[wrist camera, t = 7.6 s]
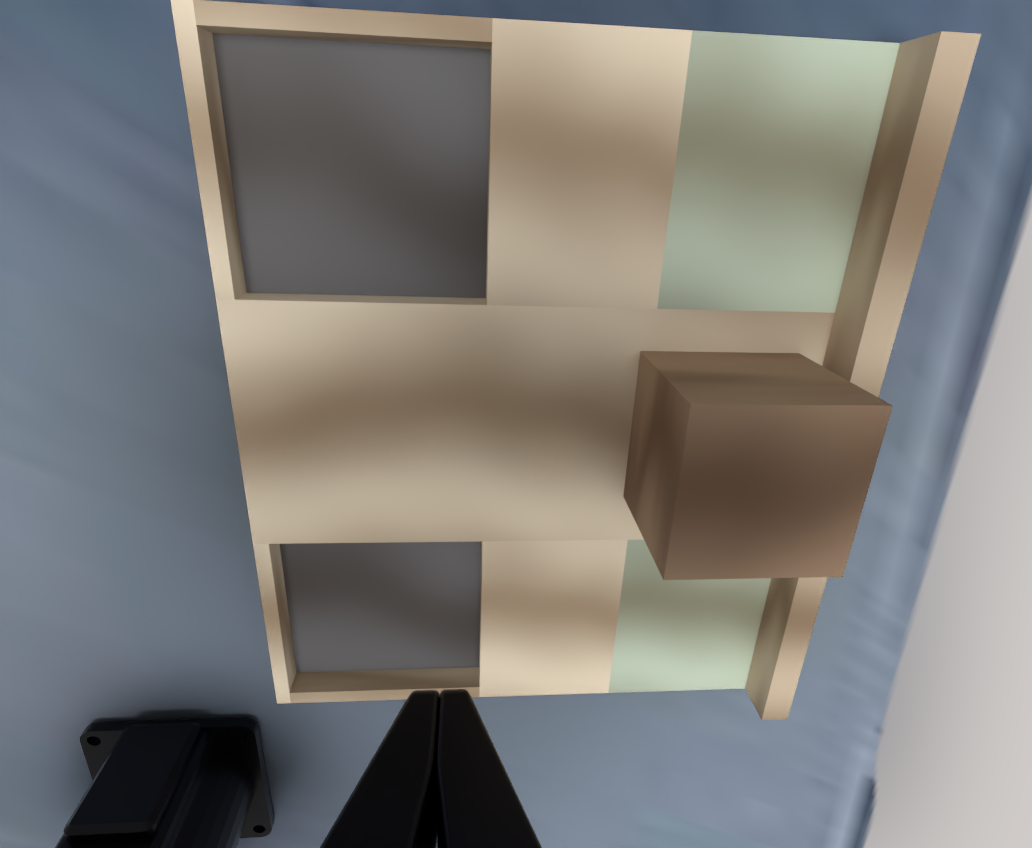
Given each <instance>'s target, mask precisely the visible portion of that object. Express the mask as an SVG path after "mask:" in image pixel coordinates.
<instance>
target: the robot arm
mask: <svg viewBox="0 0 1032 848" xmlns="http://www.w3.org/2000/svg"><path fill="white" fill-rule="evenodd" d="M80 742H81V745H82V749H83V752H84V755H85V758H86V761H87V764H88V767H89V770H90V773H91V776H92V779H93V781H92V783H91V785H90V786H89V788H88V790H87V791H86V793H85V795H84V796H83V798H82V800H81V801H80V803H79V804H78V806H77V808H76V809H75V811H74V813H73V814H72V816H71V818H70V819H69V821H68V823H67V824H66V826H65V828H64V834H63V835H62V837H61V839H60V840H59V842H58V844H57V845H56V847H55V848H237V845H238V842H239V839H240V838H249V837H263V836H266V835H268V834H269V833H270V832H271V830H272V826H273V823H274V816H273V810H272V804H271V798H270V792H269V787H268V781H267V775H266V769H265V763H264V757H263V751H262V745H261V740H260V734H259V728H258V725H257V723H256V722H255V721H254V720H252V719H249V718H220V719H191V720H162V721H133V722H104V723H93V724H90V725H89V726H88V727H87V728H86V730H85V731H84V732H83V734H82V736H81V737H80ZM320 848H542V847H541V845H540V843H539V841H538V838H537V836H536V834H535V832H534V830H533V828H532V826H531V824H530V821H529V819H528V817H527V815H526V813H525V811H524V809H523V806H522V804H521V802H520V800H519V798H518V796H517V794H516V792H515V789H514V787H513V785H512V783H511V781H510V779H509V777H508V774H507V772H506V770H505V768H504V766H503V764H502V762H501V760H500V757H499V755H498V753H497V751H496V749H495V747H494V745H493V742H492V740H491V738H490V736H489V734H488V732H487V730H486V728H485V725H484V723H483V721H482V719H481V717H480V715H479V713H478V710H477V708H476V706H475V704H474V702H473V700H472V698H471V696H470V694H469V692H468V691H467V690H466V689H445V690H443V691H441V693H440V694H439V692H438V691H437V690H416V691H413V692H412V693H411V694H410V695H409V697H408V698H407V700H406V702H405V704H404V705H403V707H402V709H401V710H400V712H399V714H398V715H397V717H396V719H395V721H394V722H393V724H392V726H391V727H390V729H389V731H388V733H387V734H386V736H385V738H384V739H383V741H382V743H381V744H380V746H379V748H378V750H377V751H376V753H375V755H374V756H373V758H372V760H371V762H370V763H369V765H368V767H367V768H366V770H365V772H364V773H363V775H362V777H361V779H360V780H359V782H358V784H357V785H356V787H355V789H354V791H353V792H352V794H351V796H350V797H349V799H348V801H347V802H346V804H345V806H344V808H343V809H342V811H341V813H340V814H339V816H338V818H337V820H336V821H335V823H334V825H333V826H332V828H331V830H330V832H329V833H328V835H327V837H326V838H325V840H324V842H323V843H322V845H321V847H320Z"/></svg>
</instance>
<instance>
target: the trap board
mask: <svg viewBox="0 0 1032 848" xmlns="http://www.w3.org/2000/svg"><path fill="white" fill-rule="evenodd" d="M171 5H172V12H173V19H174V25H175V32H176V38H177V45H178V52H179V58H180V65H181V71H182V78H183V85H184V91H185V98H186V105H187V111H188V118H189V124H190V131H191V138H192V144H193V151H194V157H195V164H196V171H197V177H198V184H199V191H200V197H201V204H202V210H203V217H204V224H205V230H206V237H207V243H208V250H209V257H210V263H211V270H212V276H213V283H214V290H215V296H216V303H217V310H218V316H219V323H220V329H221V336H222V343H223V349H224V356H225V362H226V369H227V376H228V382H229V389H230V395H231V402H232V409H233V415H234V422H235V429H236V435H237V442H238V448H239V455H240V462H241V468H242V475H243V481H244V488H245V495H246V501H247V508H248V515H249V521H250V528H251V534H252V541H253V548H254V554H255V561H256V567H257V574H258V581H259V587H260V594H261V600H262V607H263V614H264V620H265V627H266V634H267V640H268V647H269V653H270V660H271V667H272V673H273V680H274V686H275V693H276V700H277V704H280V703H310V702H341V701H372V700H403V699H407V698H408V697H409V695H410V694H411V693H412V692H413V691H416V690H437V691H438V692H439V694H440V693H441V691H443V690H445V689H466V690H467V691H468V692H469V694H470V696H471V697H495V696H526V695H556V694H587V693H618V692H648V691H679V690H710V689H741V688H745V690H746V691H747V693H748V695H749V697H750V699H751V701H752V703H753V705H754V706H755V708H756V710H757V712H758V714H759V716H760V718H761V719H762V720H771V719H787V718H788V715H789V711H790V708H791V704H792V701H793V697H794V694H795V690H796V687H797V683H798V680H799V676H800V672H801V669H802V665H803V662H804V658H805V655H806V651H807V648H808V644H809V641H810V637H811V634H812V630H813V627H814V623H815V619H816V616H817V612H818V609H819V605H820V602H821V598H822V595H823V591H824V588H825V584H826V581H827V577H811V578H757V579H703V580H663V578H662V576H661V574H660V572H659V570H658V568H657V566H656V564H655V562H654V559H653V557H652V555H651V553H650V551H649V549H648V547H647V545H646V543H645V541H644V539H643V536H642V534H641V532H640V530H639V528H638V526H637V524H636V522H635V520H634V518H633V516H632V513H631V511H630V509H629V507H628V505H627V503H626V501H625V499H624V497H623V494H624V486H625V477H626V469H627V460H628V452H629V443H630V435H631V426H632V418H633V409H634V401H635V392H636V384H637V375H638V367H639V358H640V351H674V352H748V353H800V354H801V355H803V356H805V357H807V358H809V359H810V360H812V361H814V362H816V363H817V364H819V365H821V366H823V367H825V368H826V369H828V370H830V371H832V372H834V373H835V374H837V375H839V376H841V377H842V378H844V379H846V380H848V381H850V382H851V383H853V384H855V385H857V386H858V387H860V388H862V389H864V390H866V391H867V392H869V393H871V394H873V395H875V396H876V397H879V393H880V390H881V386H882V383H883V379H884V376H885V372H886V369H887V365H888V361H889V358H890V354H891V351H892V347H893V344H894V340H895V337H896V333H897V330H898V326H899V323H900V319H901V316H902V312H903V308H904V305H905V301H906V298H907V294H908V291H909V287H910V284H911V280H912V277H913V273H914V270H915V266H916V262H917V259H918V255H919V252H920V248H921V245H922V241H923V238H924V234H925V231H926V227H927V224H928V220H929V217H930V213H931V209H932V206H933V202H934V199H935V195H936V192H937V188H938V185H939V181H940V178H941V174H942V171H943V167H944V164H945V160H946V156H947V153H948V149H949V146H950V142H951V139H952V135H953V132H954V128H955V125H956V121H957V118H958V114H959V111H960V107H961V103H962V100H963V96H964V93H965V89H966V86H967V82H968V79H969V75H970V72H971V68H972V65H973V61H974V57H975V54H976V50H977V47H978V43H979V40H980V36H981V34H974V33H959V32H943V31H941V32H938V33H934V34H931V35H927V36H924V37H920V38H916V39H913V40H909V41H906V42H902V43H889V42H872V41H856V40H840V39H823V38H807V37H791V36H775V35H758V34H742V33H726V32H709V31H693V30H677V29H660V28H644V27H628V26H612V25H595V24H579V23H563V22H546V21H530V20H514V19H497V18H481V17H465V16H449V15H432V14H416V13H400V12H383V11H367V10H351V9H335V8H318V7H302V6H286V5H269V4H253V3H237V2H220V1H204V0H171Z"/></svg>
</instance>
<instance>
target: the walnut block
mask: <svg viewBox="0 0 1032 848" xmlns="http://www.w3.org/2000/svg"><path fill="white" fill-rule="evenodd" d="M891 409H892V405H891V404H889V403H887V402H885V401H883V400H882V399H880V398H878V397H876V396H875V395H873V394H871V393H869V392H867V391H866V390H864V389H862V388H860V387H858V386H857V385H855V384H853V383H851V382H850V381H848V380H846V379H844V378H842V377H841V376H839V375H837V374H835V373H834V372H832V371H830V370H828V369H826V368H825V367H823V366H821V365H819V364H817V363H816V362H814V361H812V360H810V359H809V358H807V357H805V356H803V355H801V354H800V353H748V352H674V351H640V358H639V367H638V375H637V384H636V392H635V401H634V409H633V418H632V426H631V435H630V443H629V452H628V460H627V469H626V477H625V486H624V494H623V497H624V499H625V501H626V503H627V505H628V507H629V509H630V511H631V513H632V516H633V518H634V520H635V522H636V524H637V526H638V528H639V530H640V532H641V534H642V536H643V539H644V541H645V543H646V545H647V547H648V549H649V551H650V553H651V555H652V557H653V559H654V562H655V564H656V566H657V568H658V570H659V572H660V574H661V576H662V578H663V580H703V579H757V578H811V577H843V574H844V570H845V567H846V563H847V560H848V557H849V553H850V550H851V546H852V543H853V539H854V536H855V533H856V529H857V526H858V522H859V519H860V515H861V512H862V509H863V505H864V502H865V498H866V495H867V492H868V488H869V485H870V481H871V478H872V474H873V471H874V468H875V464H876V461H877V457H878V454H879V450H880V447H881V444H882V440H883V437H884V433H885V430H886V426H887V423H888V420H889V416H890V413H891Z"/></svg>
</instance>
